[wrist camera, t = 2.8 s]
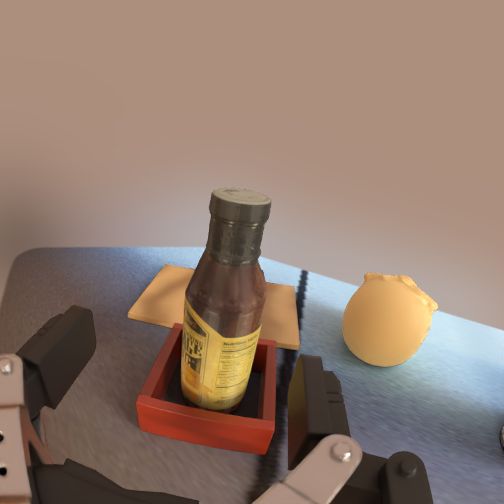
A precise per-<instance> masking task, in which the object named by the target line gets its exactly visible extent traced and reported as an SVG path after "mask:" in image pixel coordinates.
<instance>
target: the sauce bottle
mask: <svg viewBox="0 0 504 504" xmlns="http://www.w3.org/2000/svg"><path fill="white" fill-rule="evenodd" d="M270 208H271V199H269V198H268V197H267V196H266V195H263V194H261V193H258V192H254V191H251V190H246V189H240V188H220V189H217V190H214V191H213V192H212V195H211V200H210V205H209V210H210V213H211V220H210V225H209V235H208V241H207V244H206V249H205V251H204V253H203V255H202V257H201V259H200V261H199V263H198V265H197V267H196V269H195V271H194V273H193V275H192V277H191V280H190V282H189V284H188V286H187V288H186V291H185V301H184V319H183V335H182V359H181V387H182V394H183V396H184V398H185V400H186V402H187V404H189V405H190V407H192V408H197V409H202V410H207V411H212V412H217V413H223V414H228V413H230V412H232V411H234V410H236V409H237V408H238V407H239V406H240V403H241V400H242V398H243V396H244V394H245V391H246V387H247V383H248V379H249V375H250V371H251V367H252V363H253V359H254V354H255V350H256V346H257V342H258V338H259V334H260V329H261V325H262V314H263V309H264V304H265V301H266V296H267V286H266V281H265V277H264V273H263V270H261V268H260V265H259V262H258V258H259V256H260V254H261V250H260V245H261V241H262V235H263V230H264V225H265V223H266V222H267V220H268V218H269V214H270Z"/></svg>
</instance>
